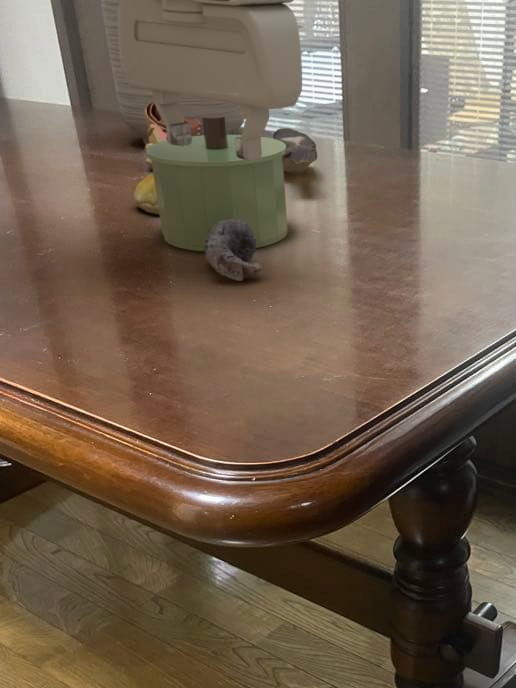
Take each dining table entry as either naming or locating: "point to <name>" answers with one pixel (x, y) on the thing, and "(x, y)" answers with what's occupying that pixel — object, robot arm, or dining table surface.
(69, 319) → the dining table surface
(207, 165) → the pot lid
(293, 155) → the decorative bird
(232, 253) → the seashell
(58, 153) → the dining table surface
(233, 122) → the vase
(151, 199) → the bread roll
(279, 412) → the dining table surface
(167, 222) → the pot
